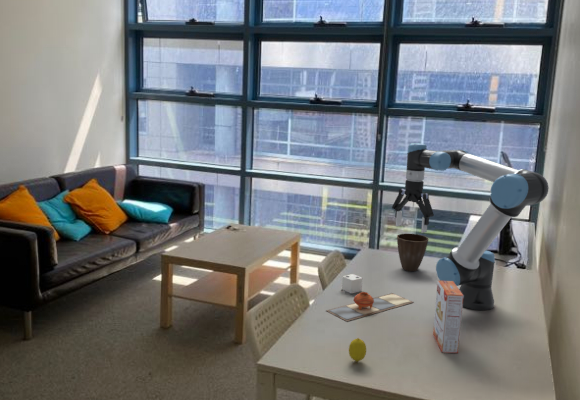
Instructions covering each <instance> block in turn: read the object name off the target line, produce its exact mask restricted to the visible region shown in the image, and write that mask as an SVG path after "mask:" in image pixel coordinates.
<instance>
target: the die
mask: <svg viewBox="0 0 580 400" xmlns="http://www.w3.org/2000/svg"><path fill="white" fill-rule="evenodd" d="M341 280H342V282H341V290H343V291H344V292H347V293H349V294H355V293H361V292H363V289H362V288H363V277H361V276H359V275H356V274H354V273H351V274H347V275H343V276H342V279H341Z"/></svg>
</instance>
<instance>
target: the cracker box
mask: <svg viewBox="0 0 580 400" xmlns="http://www.w3.org/2000/svg"><path fill="white" fill-rule="evenodd" d="M436 285H437V287H436V297H435V306H434V317H433V318H434V320H433V330H432V336H433V337H434V340H435V342H436V343H437V346H438V347H439V349H440V352H441V353H449V354H458V353H459V345H460V335H461V327H462V318H463V308H464V307H463V299H464V295H463V294H462V293H461V291H460V290H459V289H460V287H459V286H456V284H455V283H454V281H440V280H437V284H436Z"/></svg>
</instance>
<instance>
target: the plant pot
mask: <svg viewBox="0 0 580 400" xmlns="http://www.w3.org/2000/svg"><path fill="white" fill-rule="evenodd" d="M396 240H397V243H396V244H397V250H398V251H397V252H398V258H399V262H400V265H401V269H402V270H404V271H407V272H417V271H418V270H419V268H420V266H421V264H422V262H423V260H424V257H425V254H426V251H427V248H428V242H429V237H427V236H425V235H422V234H417V233H400V234H399V233H398V234H397V235H396Z"/></svg>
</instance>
